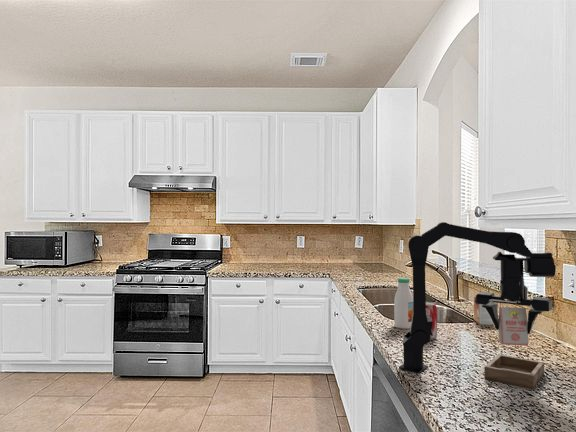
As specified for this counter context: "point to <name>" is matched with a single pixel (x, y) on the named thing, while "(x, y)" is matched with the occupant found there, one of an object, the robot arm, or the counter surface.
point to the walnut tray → (514, 371)
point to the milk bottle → (403, 305)
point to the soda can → (432, 312)
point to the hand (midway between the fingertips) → (512, 331)
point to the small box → (481, 315)
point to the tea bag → (513, 326)
